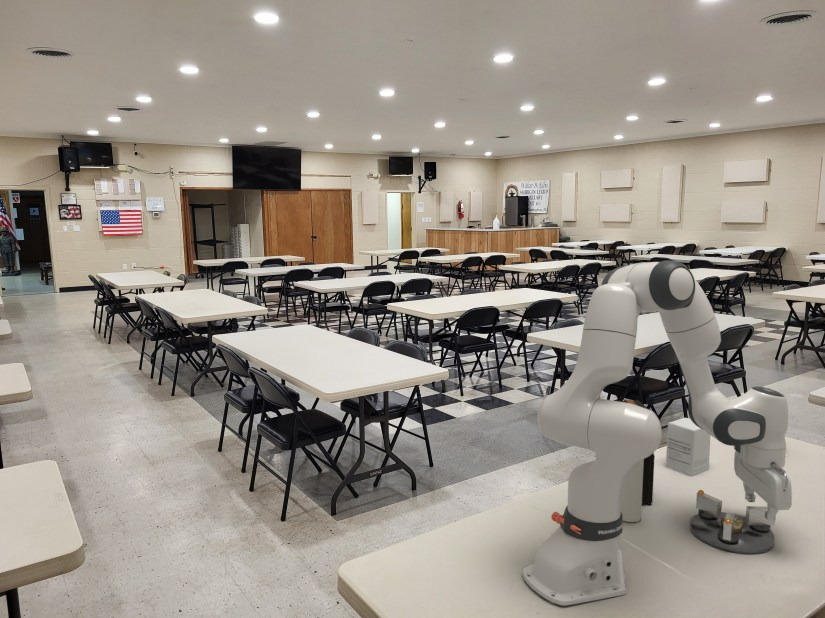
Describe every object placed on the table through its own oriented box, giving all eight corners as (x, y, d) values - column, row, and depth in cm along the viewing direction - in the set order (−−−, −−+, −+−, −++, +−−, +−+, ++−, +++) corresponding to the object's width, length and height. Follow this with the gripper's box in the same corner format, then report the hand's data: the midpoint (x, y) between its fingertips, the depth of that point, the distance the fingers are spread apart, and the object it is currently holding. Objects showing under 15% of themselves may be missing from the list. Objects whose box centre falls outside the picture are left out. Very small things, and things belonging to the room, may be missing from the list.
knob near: (719, 531, 148) (721, 507, 147) (740, 536, 145) (741, 512, 144) (715, 542, 143) (717, 517, 142) (737, 547, 140) (738, 522, 139)
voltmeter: (656, 506, 165) (661, 415, 161) (623, 506, 165) (627, 415, 162) (637, 482, 180) (641, 398, 177) (607, 481, 181) (610, 398, 177)
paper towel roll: (627, 525, 155) (631, 442, 152) (610, 514, 160) (613, 434, 157) (649, 519, 158) (653, 438, 155) (632, 509, 163) (636, 431, 160)
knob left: (724, 519, 153) (726, 496, 153) (712, 523, 152) (713, 500, 151) (703, 509, 159) (704, 487, 158) (691, 513, 157) (692, 490, 156)
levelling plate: (740, 561, 138) (741, 544, 137) (673, 526, 154) (674, 510, 153) (791, 543, 146) (792, 526, 145) (723, 511, 162) (724, 496, 161)
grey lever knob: (750, 532, 147) (752, 508, 146) (742, 523, 151) (743, 500, 150) (777, 533, 147) (779, 509, 146) (768, 524, 151) (770, 501, 150)
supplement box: (682, 463, 194) (684, 416, 192) (709, 472, 187) (712, 424, 185) (664, 469, 189) (666, 422, 187) (691, 479, 182) (694, 430, 180)
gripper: (802, 473, 137) (797, 532, 139) (756, 439, 157) (752, 491, 159) (772, 472, 137) (768, 531, 139) (730, 439, 157) (727, 491, 159)
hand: (759, 510), depth 149 cm, fingers open, 8 cm apart
